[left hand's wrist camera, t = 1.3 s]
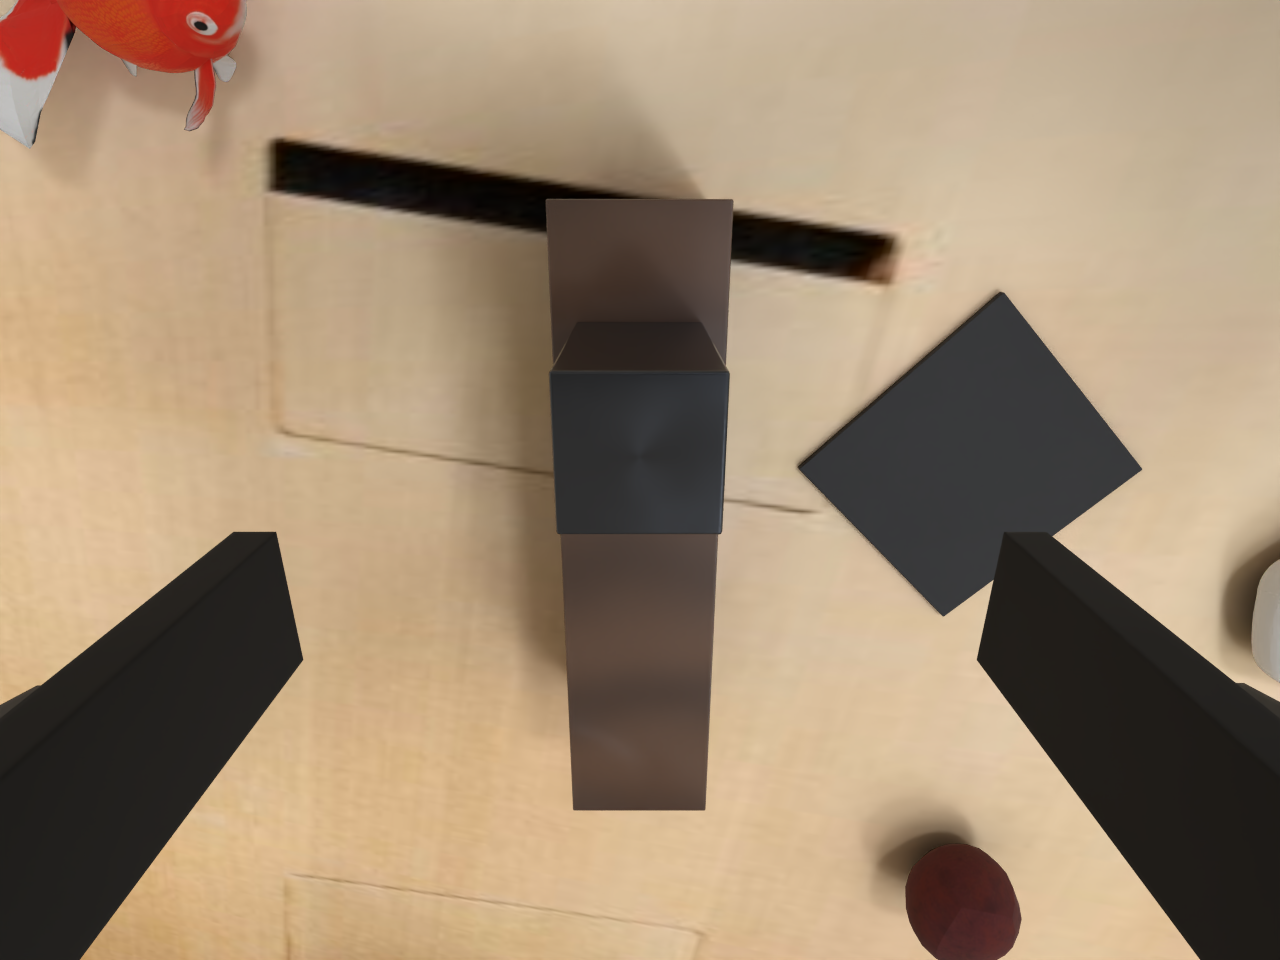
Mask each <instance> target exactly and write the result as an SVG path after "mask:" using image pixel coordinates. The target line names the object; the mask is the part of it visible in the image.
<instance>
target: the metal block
mask: <svg viewBox="0 0 1280 960" xmlns="http://www.w3.org/2000/svg"><path fill="white" fill-rule="evenodd" d="M729 379H730V373H729V371H728V369H727V367H726V365H725V364H724V362H723V360H722V358H721V356H720V354H719V353H718V351H717V349H716V347H715V345H714V343H713V342H712V340H711V338H710V336H709V334H708V332H707V331H706V329H705V327H704V325H703V323H702V322H577V323H576V325H575V327H574V329H573V330H572V332H571V334H570V336H569V338H568V339H567V341H566V343H565V345H564V347H563V348H562V350H561V352H560V354H559V356H558V357H557V359H556V361H555V363H554V365H553V366H552V368H551V370H550V372H549V387H550V408H551V429H552V450H553V471H554V492H555V513H556V531H557V533H558V534H721V532H722V524H723V503H724V483H725V462H726V441H727V421H728V400H729Z"/></svg>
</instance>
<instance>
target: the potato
mask: <svg viewBox="0 0 1280 960" xmlns="http://www.w3.org/2000/svg"><path fill="white" fill-rule="evenodd" d="M906 910H907V914H908V918H909V921H910V924H911V926H912V928H913V931H914V932H915V934H916V936H917V937H918V939H919V941H920V942H921V944H922V946H923V947H924V948H925V949H926V950H928V951H929V952H930V953H931V954H932V955H933V956H934V957H935V958H936V959H938V960H997V959H999V958H1001V957H1003V956H1004V955H1006V954H1007V953H1008V952H1009V950H1010V949H1011V948H1012V947H1013V945H1014V943H1015V940H1016V938H1017V936H1018V933H1019V929H1020V924H1021V913H1020V907H1019V903H1018V901H1017V898H1016V895H1015V892H1014V889H1013V887H1012V884H1011V882H1010V880H1009V878H1008V876H1007V874H1006V872H1005V871H1004V870H1003V869H1002V868H1001V867H1000V865H999V864H998V863H997V862H996V861H995V860H993V859H992V858H991V857H990V856H989V855H988V854H986V853H985V852H984V851H982V850H981V849H979V848H976V847H973V846H970V845H967V844H946V845H943V846H939V847H937V848H935V849H933V850H931V851H929V852H928V853H927V854H926V855H925V856H923V857H922V858H921V859H920V860H919V861H918V862H917V863H916V864H915V865H914V866H913V868H912V870H911V872H910V874H909V877H908V880H907V883H906Z"/></svg>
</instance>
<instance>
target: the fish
mask: <svg viewBox="0 0 1280 960" xmlns="http://www.w3.org/2000/svg"><path fill="white" fill-rule="evenodd" d="M246 16H247V2H246V0H17V2H16V3H15V4H14V6H13V7H12V8H11V9H10V10H9V11H8V12H7V13H6V14H5V15H3V16H2V17H0V130H2V131H3V132H5V133H6V134H8V135H9V136H11V137H12V138H14V139H16V140H17V141H19V142H20V143H22V144H23V145H25V146H26V147H28V148H29V149H30V148H31V147H32V145H33V144H34V142H35V139H36V134H37V129H38V124H39V119H40V113H41V111H42V108H43V106H44V104H45V102H46V99H47V97H48V95H49V93H50V90H51V88H52V86H53V83H54V81H55V79H56V76H57V74H58V72H59V69H60V67H61V64H62V62H63V59H64V57H65V55H66V52H67V50H68V47H69V45H70V43H71V40H72V38H73V36H74V33H75V28H76V27H77V28H79V29H80V30H81V31H82V32H83V33H84V34H85V35H87V36H88V37H89V38H90V39H91V40H92V41H94V42H95V43H96V44H97V45H99V46H100V47H101V48H103V49H105V50H106V51H108V52H110V53H112V54H114V55H116V56H118V57H119V58H121V59H122V61H123V62H124V64H125V65H126V67H127V68H128V70H129V72H130V73H131V74H132V75H134V76H137V66H139V67H142V68H146V69H149V70H156V71H162V72H168V73H182V72H188V71H193V70H194V71H195V84H196V97H195V100H194V102H193V104H192V106H191V108H190V110H189V112H188V115H187V118H186V127H185V129H184V130H187V131H192V130H194V129H197V128H198V127H199V126H200V125H201V124H202V122H203V121H204V119H205V116H206V115H207V114H208V113H209V111H210V110H211V108H212V106H213V102H214V94H215V88H216V82H215V75H214V70H215V72H216V74H217V75H218V77H219V79H220V80H222V81H224V82H228V81H229V80H230V79H231V77H232V75H233V73H234V71H235V69H236V62H235V61H234V60H233V59H232V58H230V57H229V56H228V54H229V53H230V52H231V50H232V49H233V48H234V47H235V46H236V44H237V42H238V39H239V37H240V34H241V32H242V29H243V27H244V24H245V20H246Z"/></svg>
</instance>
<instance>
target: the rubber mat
mask: <svg viewBox="0 0 1280 960" xmlns="http://www.w3.org/2000/svg"><path fill="white" fill-rule="evenodd" d="M798 468H799V469H800V471H801V472H802V473H803V474H804V475H805V476H806V477H807V478H808V479H809V480H810V481H811V482H812V483H813V484H814V485H815V486H816V487H817V488H818V489H819V490H820V491H821V492H822V493H823V494H824V495H825V496H826V497H827V498H828V499H829V500H830V501H831V502H832V503H833V504H834V505H835V506H836V507H837V508H838V509H839V510H840V511H841V513H842V514H843V515H844V516H845V517H846V518H847V519H848V520H849V521H850V522H851V523H852V524H853V525H854V526H855V527H856V528H857V529H858V530H859V531H860V532H861V533H862V534H863V535H864V536H865V537H866V538H867V539H868V540H869V541H870V542H871V543H872V544H873V545H874V546H875V547H876V548H877V549H878V550H879V551H880V552H881V553H882V554H883V556H884V557H885V558H886V559H887V560H888V561H889V562H890V563H891V564H892V565H893V566H894V567H895V568H896V569H897V570H898V571H899V572H900V573H901V574H902V575H903V576H904V577H905V578H906V579H907V580H908V581H909V582H910V583H911V584H912V585H913V586H914V587H915V588H916V589H917V590H918V591H919V592H920V593H921V594H922V595H923V596H924V597H925V599H926V600H927V601H928V602H929V603H930V604H931V605H932V606H933V607H934V608H935V609H936V610H937V611H938V612H939V613H940V614H941V615H942V616H945V615H946V614H948V613H949V612H950V611H952V610H953V609H954V608H956V607H957V606H959V605H960V604H961V603H963V602H964V601H965V600H967V599H968V598H969V597H971V596H972V595H973V594H975V593H976V592H977V591H979V590H980V589H982V588H983V587H984V586H986V585H987V584H988V583H990V582H991V581H992V580H994V576H995V572H996V567H997V562H998V557H999V553H1000V548H1001V543H1002V538H1003V534H1004V532H1047V533H1048V534H1050V535H1051V536H1053V535H1054V534H1056V533H1057V532H1059V531H1060V530H1061V529H1063V528H1064V527H1065V526H1067V525H1068V524H1069V523H1071V522H1072V521H1073V520H1075V519H1076V518H1077V517H1079V516H1080V515H1082V514H1083V513H1084V512H1086V511H1087V510H1088V509H1090V508H1091V507H1092V506H1094V505H1095V504H1096V503H1098V502H1099V501H1100V500H1102V499H1103V498H1104V497H1106V496H1107V495H1109V494H1110V493H1111V492H1113V491H1114V490H1115V489H1117V488H1118V487H1119V486H1121V485H1122V484H1123V483H1125V482H1126V481H1127V480H1129V479H1130V478H1132V477H1133V476H1134V475H1136V474H1137V473H1138V472H1140V471H1141V470H1142V468H1141V467H1140V466H1139V464H1138V463H1137V462H1136V460H1135V459H1134V458H1133V457H1132V455H1131V454H1130V453H1129V451H1128V450H1127V449H1126V448H1125V446H1124V445H1123V444H1122V443H1121V441H1120V440H1119V439H1118V437H1117V436H1116V435H1115V434H1114V432H1113V431H1112V430H1111V429H1110V427H1109V426H1108V425H1107V423H1106V422H1105V421H1104V420H1103V418H1102V417H1101V416H1100V414H1099V413H1098V412H1097V411H1096V409H1095V408H1094V407H1093V406H1092V404H1091V403H1090V402H1089V400H1088V399H1087V398H1086V397H1085V395H1084V394H1083V393H1082V392H1081V390H1080V389H1079V388H1078V386H1077V385H1076V384H1075V383H1074V381H1073V380H1072V379H1071V377H1070V376H1069V375H1068V374H1067V372H1066V371H1065V370H1064V369H1063V367H1062V366H1061V365H1060V363H1059V362H1058V361H1057V360H1056V358H1055V357H1054V356H1053V355H1052V353H1051V352H1050V351H1049V349H1048V348H1047V347H1046V346H1045V344H1044V343H1043V342H1042V340H1041V339H1040V338H1039V337H1038V335H1037V334H1036V333H1035V332H1034V330H1033V329H1032V328H1031V326H1030V325H1029V324H1028V323H1027V321H1026V320H1025V319H1024V318H1023V316H1022V315H1021V314H1020V312H1019V311H1018V310H1017V309H1016V307H1015V306H1014V305H1013V303H1012V302H1011V301H1010V300H1009V298H1008V297H1007V296H1006V295H1005V293H1003V292H1000V293H999V294H998V295H996V296H995V297H994V298H993V299H992V300H991V301H989V302H988V303H987V304H986V305H985V306H984V307H983V308H981V309H980V310H979V311H978V312H977V313H976V314H974V315H973V316H972V317H971V318H970V319H969V320H967V321H966V322H965V323H964V324H963V325H962V326H961V327H959V328H958V329H957V330H956V331H955V332H954V333H952V334H951V335H950V336H949V337H948V338H947V339H945V340H944V341H943V342H942V343H941V344H940V345H939V346H937V347H936V348H935V349H934V350H933V351H932V352H930V353H929V354H928V355H927V356H926V357H925V358H924V359H922V360H921V361H920V362H919V363H918V364H917V365H915V366H914V367H913V368H912V369H911V370H910V371H908V372H907V373H906V374H905V375H904V376H903V377H902V378H900V379H899V380H898V381H897V382H896V383H895V384H893V385H892V386H891V387H890V388H889V389H888V390H887V391H885V392H884V393H883V394H882V395H881V396H880V397H878V398H877V399H876V400H875V401H874V402H873V403H871V404H870V405H869V406H868V407H867V408H866V409H865V410H863V411H862V412H861V413H860V414H859V415H858V416H856V417H855V418H854V419H853V420H852V421H851V422H850V423H848V424H847V425H846V426H845V427H844V428H843V429H841V430H840V431H839V432H838V433H837V434H836V435H834V436H833V437H832V438H831V439H830V440H829V441H828V442H826V443H825V444H824V445H823V446H822V447H821V448H819V449H818V450H817V451H816V452H815V453H814V454H813V455H811V456H810V457H809V458H808V459H807V460H806V461H804V462H803V463H802V464H801V465H800V466H799V467H798Z"/></svg>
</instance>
